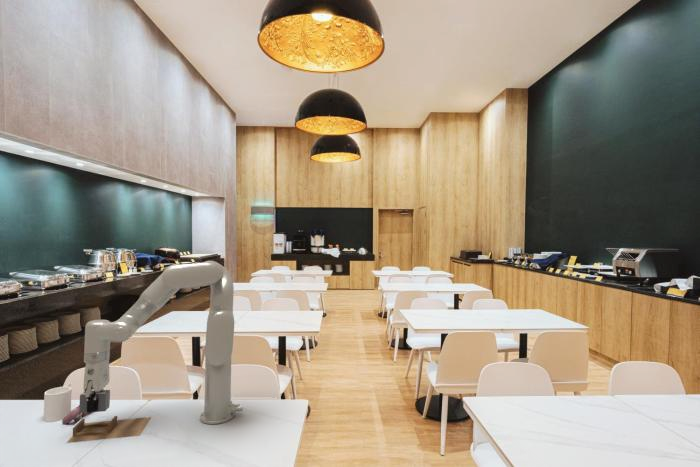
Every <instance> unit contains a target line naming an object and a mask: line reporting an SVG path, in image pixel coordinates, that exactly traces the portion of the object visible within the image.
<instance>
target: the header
mask: <svg viewBox="0 0 700 467" xmlns="http://www.w3.org/2000/svg"><path fill="white" fill-rule="evenodd" d="M151 419H152V416H148V417H137V418H135V417H134V418H125V419H118V415H115V416H114V417H113V418H112V419H111V420H104V421H95V422H85V420H86V419H85V418H81V420H80V421H78V423H76V424H75V426H73V428H72V436H71V437H70V438H69V439H68V440H67V442H66V443H65V444H70V443H80V442H90V441H98V440H110V439H118V438H127V437H128V438H129V437H139V436H141V434H142V433H143V431H144V430H145V429H146V427H147V425H148V423H149V422H150V420H151Z"/></svg>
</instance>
